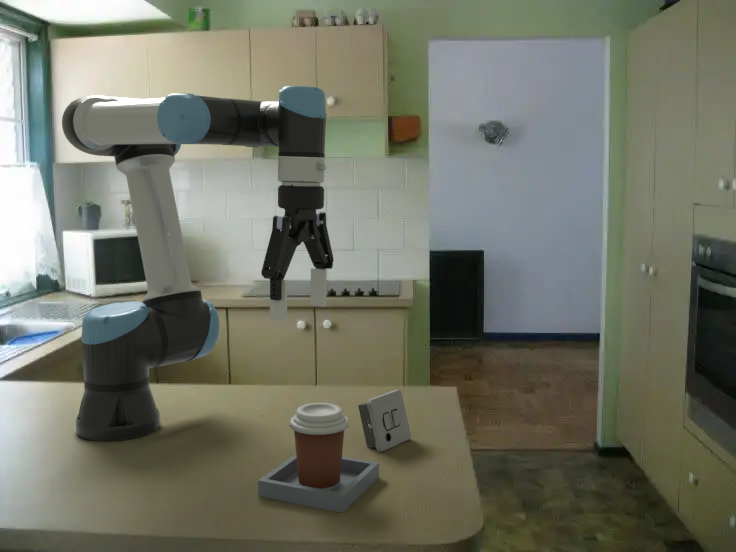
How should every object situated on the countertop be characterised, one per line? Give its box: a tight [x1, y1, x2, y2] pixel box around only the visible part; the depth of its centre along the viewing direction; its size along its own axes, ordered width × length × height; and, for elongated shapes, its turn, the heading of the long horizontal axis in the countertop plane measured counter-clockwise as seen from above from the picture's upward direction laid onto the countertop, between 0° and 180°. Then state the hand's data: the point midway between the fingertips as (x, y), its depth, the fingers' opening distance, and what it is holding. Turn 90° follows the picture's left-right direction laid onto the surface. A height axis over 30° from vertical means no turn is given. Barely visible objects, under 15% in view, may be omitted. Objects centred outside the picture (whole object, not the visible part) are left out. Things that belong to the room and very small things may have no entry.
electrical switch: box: [357, 389, 412, 453], centre depth 138 cm, size 9×5×9 cm, turn 141°
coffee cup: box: [289, 402, 350, 491], centre depth 117 cm, size 9×9×12 cm
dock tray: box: [257, 453, 380, 514], centre depth 118 cm, size 14×14×2 cm
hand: (299, 312), depth 127 cm, fingers open, 13 cm apart
